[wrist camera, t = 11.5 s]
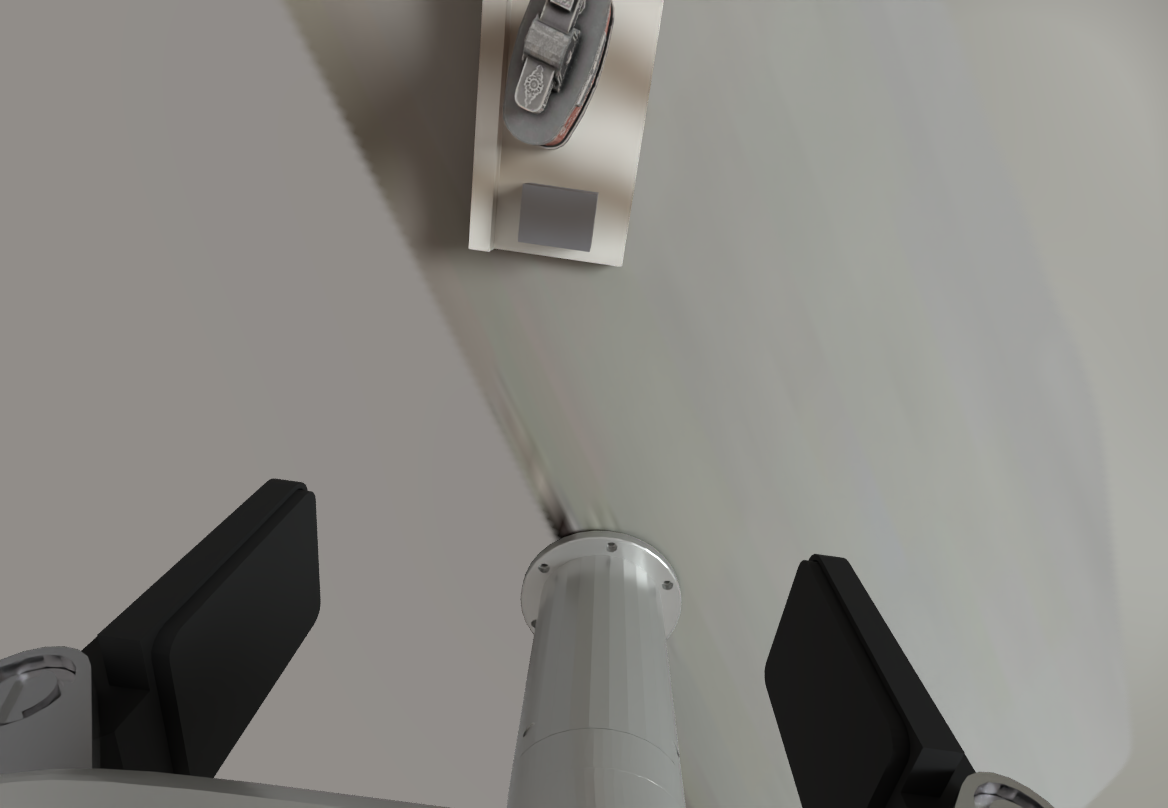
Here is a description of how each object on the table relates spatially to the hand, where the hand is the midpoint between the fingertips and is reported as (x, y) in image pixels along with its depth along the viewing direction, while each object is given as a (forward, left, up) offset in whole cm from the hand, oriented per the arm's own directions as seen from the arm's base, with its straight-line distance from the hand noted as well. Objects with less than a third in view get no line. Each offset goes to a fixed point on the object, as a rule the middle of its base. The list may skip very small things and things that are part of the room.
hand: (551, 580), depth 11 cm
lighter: (+12, +3, -27) cm, 29 cm away
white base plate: (+12, +3, -28) cm, 31 cm away
